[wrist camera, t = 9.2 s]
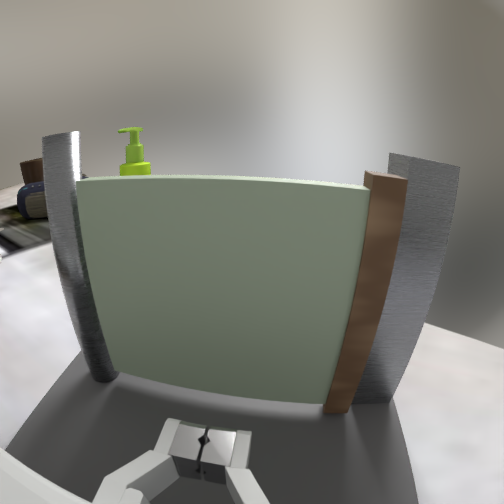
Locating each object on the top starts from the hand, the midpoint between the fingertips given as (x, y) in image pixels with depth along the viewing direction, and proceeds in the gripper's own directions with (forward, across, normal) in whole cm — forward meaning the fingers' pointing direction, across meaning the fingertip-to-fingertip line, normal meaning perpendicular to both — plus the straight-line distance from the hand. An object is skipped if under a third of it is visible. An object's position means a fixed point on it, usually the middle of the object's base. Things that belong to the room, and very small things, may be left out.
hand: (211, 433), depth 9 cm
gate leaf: (+7, -1, -6) cm, 9 cm away
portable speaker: (+54, -58, -8) cm, 79 cm away
